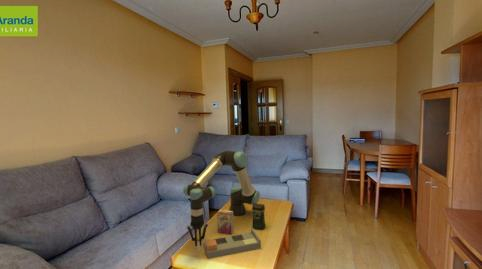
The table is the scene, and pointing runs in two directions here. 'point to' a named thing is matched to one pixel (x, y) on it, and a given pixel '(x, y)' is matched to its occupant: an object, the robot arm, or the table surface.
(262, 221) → the coffee jar
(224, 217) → the candy bar box
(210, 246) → the block
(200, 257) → the table surface
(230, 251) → the block
